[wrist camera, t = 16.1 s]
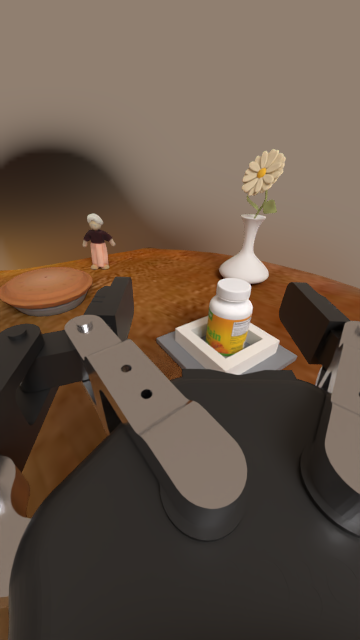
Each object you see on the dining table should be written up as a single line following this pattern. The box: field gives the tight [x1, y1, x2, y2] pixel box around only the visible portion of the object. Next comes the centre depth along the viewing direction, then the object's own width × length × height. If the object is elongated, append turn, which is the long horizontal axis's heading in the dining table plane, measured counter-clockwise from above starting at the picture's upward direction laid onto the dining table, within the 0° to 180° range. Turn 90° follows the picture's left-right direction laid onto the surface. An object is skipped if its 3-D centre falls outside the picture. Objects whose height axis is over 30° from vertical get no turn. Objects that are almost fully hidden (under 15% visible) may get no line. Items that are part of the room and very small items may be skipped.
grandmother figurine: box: [83, 214, 115, 269], centre depth 57 cm, size 8×4×13 cm, turn 105°
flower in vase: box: [219, 149, 286, 284], centre depth 49 cm, size 13×11×25 cm
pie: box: [0, 267, 92, 316], centre depth 44 cm, size 16×16×5 cm
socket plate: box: [157, 316, 297, 375], centre depth 33 cm, size 14×14×3 cm
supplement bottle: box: [205, 278, 253, 358], centre depth 31 cm, size 5×5×10 cm
